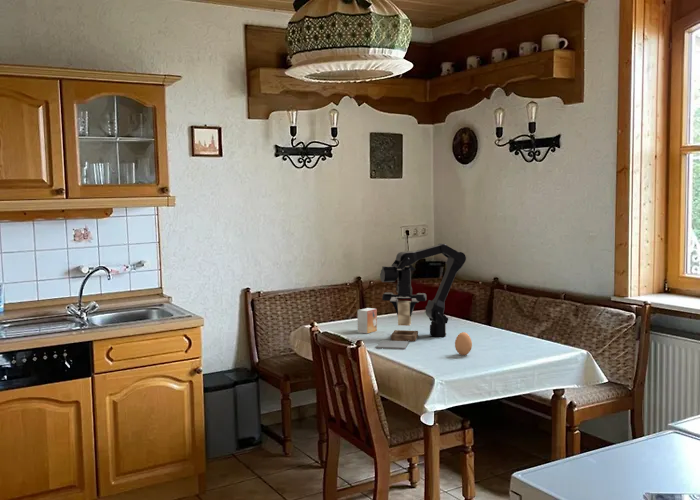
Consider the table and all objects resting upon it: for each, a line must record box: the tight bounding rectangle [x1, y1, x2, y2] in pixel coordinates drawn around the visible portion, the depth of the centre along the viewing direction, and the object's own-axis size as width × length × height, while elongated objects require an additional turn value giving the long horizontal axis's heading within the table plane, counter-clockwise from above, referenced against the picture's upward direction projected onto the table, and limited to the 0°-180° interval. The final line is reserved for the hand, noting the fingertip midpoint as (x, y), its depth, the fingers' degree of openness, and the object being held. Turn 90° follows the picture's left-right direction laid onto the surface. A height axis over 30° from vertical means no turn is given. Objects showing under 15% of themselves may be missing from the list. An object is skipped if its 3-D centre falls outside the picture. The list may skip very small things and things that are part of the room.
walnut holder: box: [390, 329, 419, 342], centre depth 314 cm, size 10×10×2 cm
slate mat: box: [375, 339, 410, 350], centre depth 300 cm, size 12×12×1 cm
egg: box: [454, 331, 473, 356], centre depth 282 cm, size 7×7×9 cm
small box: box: [357, 307, 378, 334], centre depth 330 cm, size 8×6×10 cm
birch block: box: [397, 300, 412, 327], centre depth 313 cm, size 5×5×10 cm
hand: (404, 316), depth 313 cm, fingers closed on birch block, 5 cm apart
